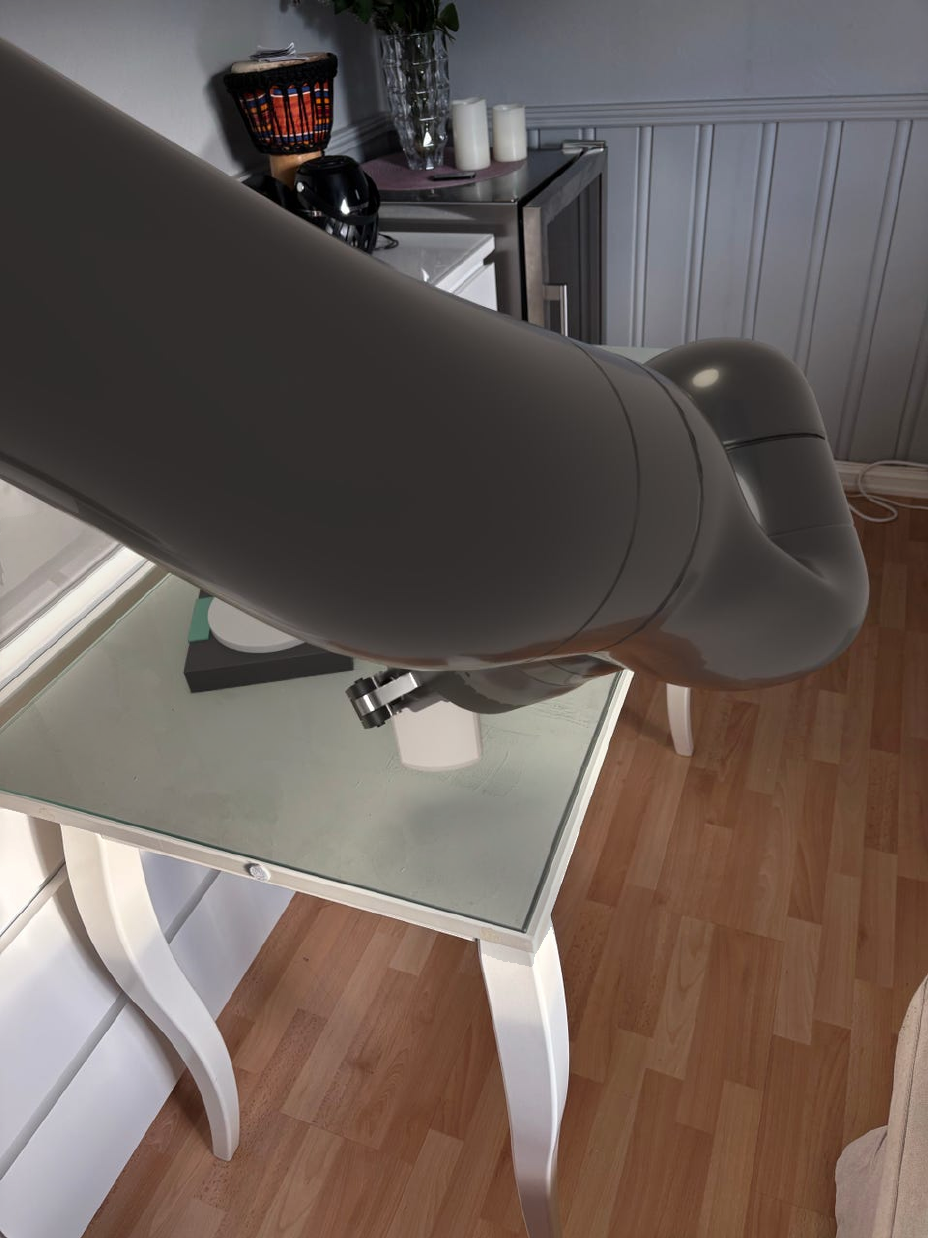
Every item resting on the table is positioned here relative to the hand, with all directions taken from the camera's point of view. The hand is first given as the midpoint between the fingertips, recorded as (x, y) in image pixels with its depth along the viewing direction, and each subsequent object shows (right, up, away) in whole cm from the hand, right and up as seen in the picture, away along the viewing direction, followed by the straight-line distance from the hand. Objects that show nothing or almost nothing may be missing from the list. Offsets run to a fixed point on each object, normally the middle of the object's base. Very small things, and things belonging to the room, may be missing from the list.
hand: (417, 678), depth 59 cm
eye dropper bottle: (+2, -5, +2) cm, 6 cm away
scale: (-14, +3, +25) cm, 29 cm away
